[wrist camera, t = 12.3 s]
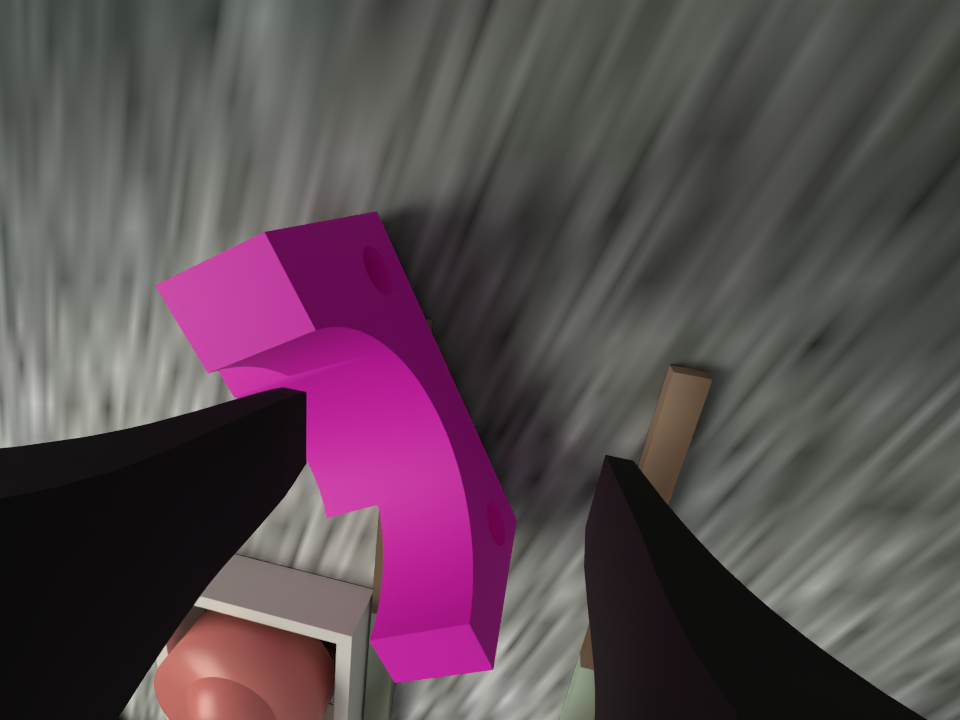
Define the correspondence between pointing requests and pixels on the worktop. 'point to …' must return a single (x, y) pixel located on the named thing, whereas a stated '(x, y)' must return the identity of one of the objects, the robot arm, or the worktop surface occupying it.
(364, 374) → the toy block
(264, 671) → the dome
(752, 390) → the worktop surface
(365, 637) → the white square frame
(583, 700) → the game lane
